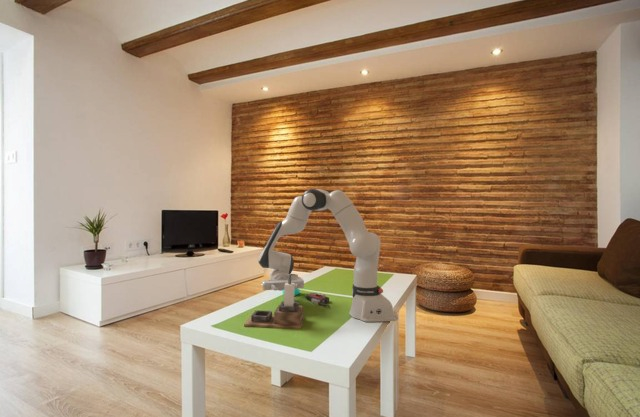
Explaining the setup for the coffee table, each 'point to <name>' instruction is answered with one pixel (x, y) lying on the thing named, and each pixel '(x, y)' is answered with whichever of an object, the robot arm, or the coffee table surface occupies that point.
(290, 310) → the brown wooden stepped base
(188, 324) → the coffee table surface
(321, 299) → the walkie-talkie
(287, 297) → the plug
